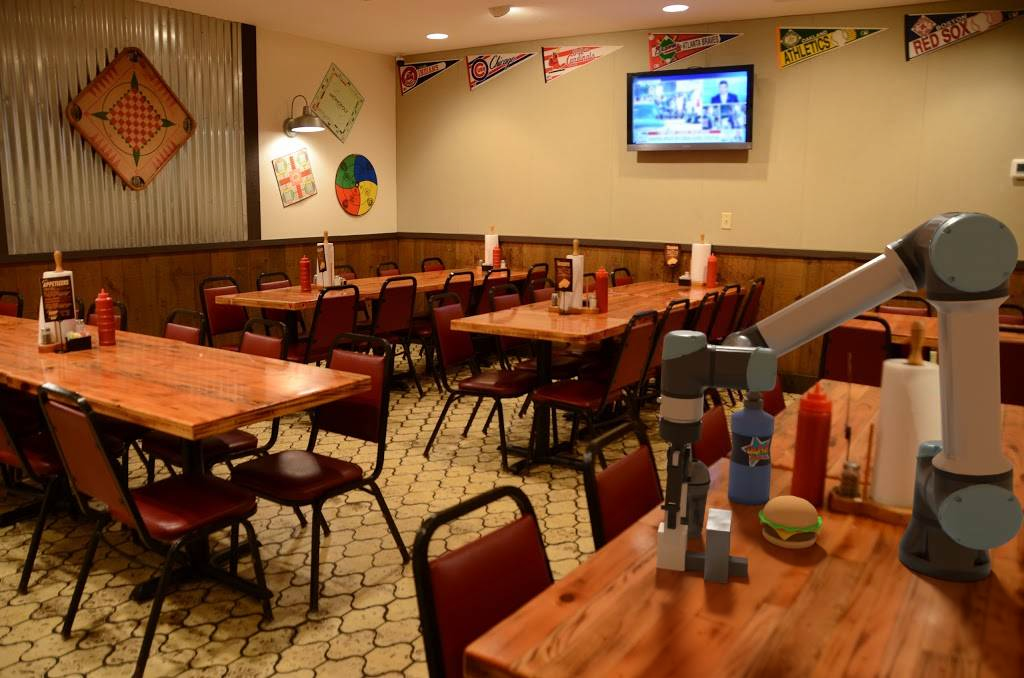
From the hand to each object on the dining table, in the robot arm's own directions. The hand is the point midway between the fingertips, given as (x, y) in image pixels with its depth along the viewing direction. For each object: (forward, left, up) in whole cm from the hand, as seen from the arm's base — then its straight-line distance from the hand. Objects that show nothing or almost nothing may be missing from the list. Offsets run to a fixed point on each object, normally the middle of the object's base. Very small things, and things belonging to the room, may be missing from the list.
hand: (674, 529), depth 148 cm
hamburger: (-21, -18, -7) cm, 28 cm away
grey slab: (-8, 0, -7) cm, 10 cm away
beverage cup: (-2, -15, -7) cm, 17 cm away
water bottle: (-13, -39, -7) cm, 42 cm away
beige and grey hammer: (-5, 0, -7) cm, 9 cm away
